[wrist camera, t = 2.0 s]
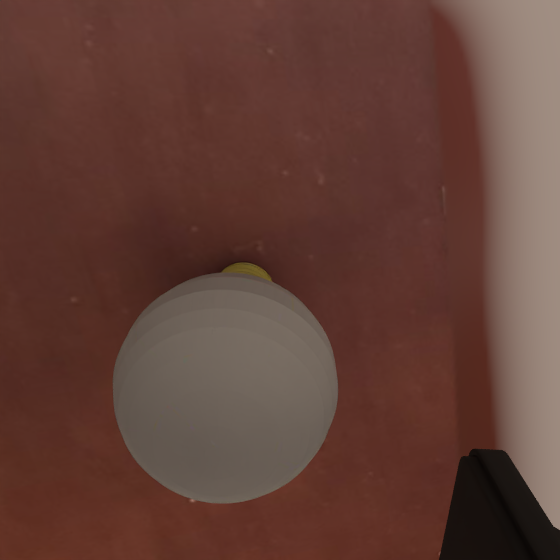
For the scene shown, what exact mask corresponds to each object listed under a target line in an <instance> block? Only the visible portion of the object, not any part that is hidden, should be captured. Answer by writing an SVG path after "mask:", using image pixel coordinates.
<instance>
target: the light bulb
mask: <svg viewBox="0 0 560 560" xmlns="http://www.w3.org/2000/svg"><path fill="white" fill-rule="evenodd" d="M113 399H114V410H115V416H116V420H117V423H118V426H119V429H120V432H121V434H122V437H123V439H124V442H125V444H126V446H127V448H128V450H129V451H130V453H131V455H132V456H133V458H134V459H135V460H136V461H137V463H138V464H139V465H140V466H141V467H142V468H143V469H144V470H145V471H146V472H147V473H148V474H149V475H150V476H151V477H153V478H154V479H155V480H157V481H158V482H159V483H161V484H162V485H163V486H165V487H167V488H168V489H170V490H172V491H174V492H176V493H178V494H180V495H182V496H185V497H188V498H191V499H194V500H198V501H203V502H209V503H236V502H242V501H247V500H251V499H254V498H257V497H260V496H263V495H265V494H268V493H270V492H272V491H275V490H276V489H278V488H280V487H282V486H284V485H285V484H287V483H288V482H290V481H291V480H292V479H293V478H295V477H296V476H297V475H298V474H299V473H300V472H301V471H302V470H303V469H304V468H305V467H306V466H307V464H308V463H309V462H310V461H311V460H312V458H313V457H314V456H315V455H316V453H317V452H318V450H319V449H320V447H321V445H322V444H323V442H324V440H325V438H326V435H327V433H328V430H329V428H330V425H331V423H332V420H333V417H334V414H335V410H336V406H337V400H338V381H337V373H336V366H335V360H334V355H333V351H332V348H331V345H330V342H329V340H328V337H327V335H326V333H325V332H324V330H323V328H322V326H321V325H320V324H319V322H318V321H317V319H316V318H315V317H314V316H313V314H312V313H311V312H310V311H309V310H308V308H307V307H306V306H305V305H304V304H303V303H302V302H301V301H300V300H299V299H298V298H297V297H296V296H294V295H293V294H292V293H290V292H289V291H288V290H286V289H284V288H283V287H281V286H279V285H277V284H275V283H273V282H272V280H271V278H270V276H269V275H268V273H267V272H266V271H265V270H263V269H262V268H261V267H259V266H257V265H254V264H251V263H245V262H244V263H235V264H232V265H230V266H228V267H226V268H225V269H224V270H223V271H222V272H221V273H213V274H208V275H203V276H199V277H196V278H193V279H190V280H188V281H185V282H183V283H181V284H179V285H177V286H176V287H174V288H172V289H171V290H169V291H167V292H166V293H164V294H163V295H161V296H160V297H158V298H157V299H156V300H154V301H153V302H152V303H151V304H150V305H149V306H148V307H147V308H146V309H145V310H144V311H143V312H142V313H141V314H140V316H139V317H138V318H137V319H136V321H135V323H134V324H133V326H132V327H131V329H130V331H129V333H128V335H127V337H126V339H125V341H124V343H123V345H122V347H121V349H120V351H119V354H118V357H117V359H116V363H115V368H114V374H113Z"/></svg>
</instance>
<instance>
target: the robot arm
mask: <svg viewBox="0 0 560 560" xmlns="http://www.w3.org/2000/svg"><path fill="white" fill-rule="evenodd" d="M439 560H560V530H558V529H557V528H555V527H553V525H552V524H551V522H550V520H549V519H548V517H547V516H546V514H545V513H544V511H543V509H542V508H541V506H540V505H539V503H538V501H537V500H536V498H535V497H534V495H533V494H532V492H531V490H530V489H529V487H528V486H527V484H526V483H525V481H524V479H523V478H522V476H521V475H520V473H519V471H518V470H517V468H516V467H515V465H514V464H513V462H512V460H511V459H510V457H509V456H508V455H507V453H506V452H505V451H503V450H490V449H472V450H471V451H470V453H469V456H463V457H461V459H460V462H459V466H458V471H457V476H456V481H455V486H454V490H453V495H452V500H451V505H450V510H449V515H448V520H447V524H446V529H445V534H444V539H443V544H442V549H441V553H440V558H439Z"/></svg>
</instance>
